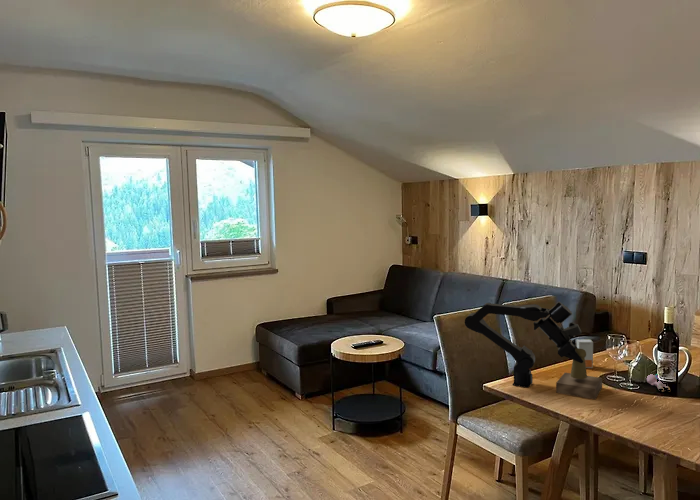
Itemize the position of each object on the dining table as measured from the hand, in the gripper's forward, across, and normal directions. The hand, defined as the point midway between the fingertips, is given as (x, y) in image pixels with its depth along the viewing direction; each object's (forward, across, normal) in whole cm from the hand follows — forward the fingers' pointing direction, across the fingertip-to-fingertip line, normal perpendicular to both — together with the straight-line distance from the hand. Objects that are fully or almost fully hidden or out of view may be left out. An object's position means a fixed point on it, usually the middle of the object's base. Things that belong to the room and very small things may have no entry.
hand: (582, 360), depth 201 cm
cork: (+4, 0, +6) cm, 7 cm away
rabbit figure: (+27, +14, -10) cm, 32 cm away
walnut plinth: (+8, 0, +9) cm, 12 cm away
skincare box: (+9, +31, +8) cm, 34 cm away
